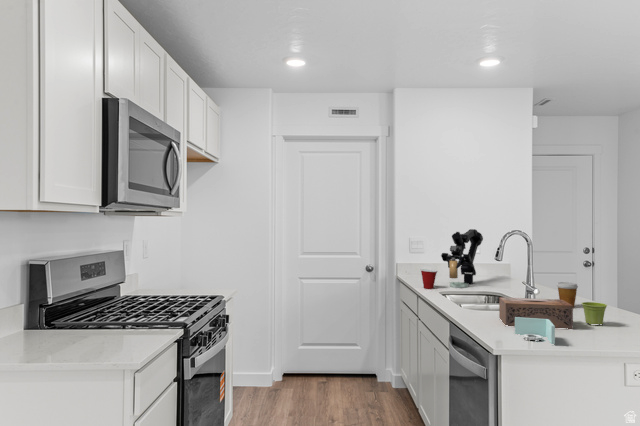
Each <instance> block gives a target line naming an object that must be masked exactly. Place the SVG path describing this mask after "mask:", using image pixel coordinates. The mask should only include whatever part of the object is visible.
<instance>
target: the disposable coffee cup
mask: <svg viewBox="0 0 640 426" xmlns="http://www.w3.org/2000/svg"><path fill="white" fill-rule="evenodd" d="M556 287H557V291H558V292H557V293H558V299H559V300H564V301H565V302H567V303H569V304H571V305H573V309H574V308H575V305H576V299H577V289H578V287H579V286H578V284H577V283H575V282H568V281H566V282H563V281H560V282H557V284H556Z"/></svg>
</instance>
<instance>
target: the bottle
mask: <svg viewBox="0 0 640 426" xmlns="http://www.w3.org/2000/svg"><path fill="white" fill-rule="evenodd" d="M458 261H459V260H457V259H455V258H454V257H452V259H451V260H450V261H449V268H448V270H449V275H448V276H449V279H458V277H459V275H458V274H459V273H458V268H456V266H457V264H458Z"/></svg>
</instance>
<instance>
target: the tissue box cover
mask: <svg viewBox="0 0 640 426" xmlns="http://www.w3.org/2000/svg"><path fill="white" fill-rule="evenodd" d="M498 304H499V305H498V306H499V308H498V310H499V312H498V313H499V314H498V316H499V318H500V319H501V320H502V322H503V323H504V324H505V325H508V326H515V317H521V318H537V319H549V320H550V321H551V322H552V323H553V325H554V326H555V328H568V329H567V330H569V329H573V330H574V308H573V305H571V304H569V303H567V302H565V301H564V300H559V298H558V299H549V298H528V297H527V298H525V297H504V296H503V297H501V296H500V297H499V302H498ZM500 319H499V320H500ZM502 322H501V323H502ZM503 323H502V324H503ZM504 324H503V325H504ZM505 325H504V326H505Z"/></svg>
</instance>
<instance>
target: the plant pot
mask: <svg viewBox="0 0 640 426" xmlns="http://www.w3.org/2000/svg"><path fill="white" fill-rule="evenodd" d="M581 305H582V308H583V312H584V318H585V324H586V323H589V324H603V323H604V317H605V312H606V309H607V307H608V304H606V303H601V302H595V301H593V302H592V301H586V302H585V301H584V302H581ZM589 324H588V325H589Z"/></svg>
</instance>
